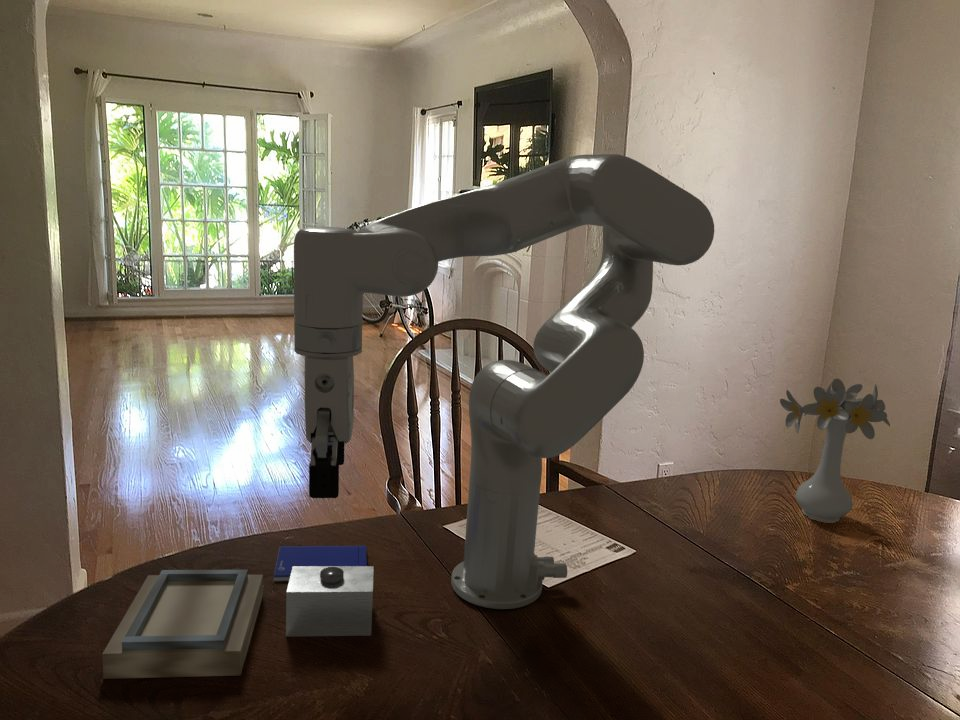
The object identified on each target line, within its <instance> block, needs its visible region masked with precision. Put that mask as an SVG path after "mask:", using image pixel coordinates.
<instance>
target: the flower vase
mask: <svg viewBox="0 0 960 720" xmlns="http://www.w3.org/2000/svg"><path fill="white" fill-rule="evenodd" d="M863 387H864V386H863V384H861V383H855V384H854V385H850V386H849V387H848V388H847V390H846V387H845V384H844V383H843V381H842V380H841V379H840V378H837V377H836V378H833V380H832V381H831V382H830V383H829V385H828V387H827V388H825V387H824V388H822V387H821V386H815V387H814V388H813V396H814V399H815V402H812V403H808V404H805V405H803V406H801V404H800V403H799V402H798V401H797V400H796V398H795V397H794V396H793V395H792V394H791V392H790V391H789V390H788V389H786V392H785V394H786V397H787V399H788V400H787V399H785V398H780V399H779V402H780V403H779V404H780V406H781V407H782V408H783V409H784V410H785V411H787V412H789V413H788V414H787V415H786V417H785V426H786V428H787V429H788V428H790V427H792V425H793V424H794V430H795V432H796V433H797V434H799V432H800V425H801V421H802V416H803V417H805V416H806V415H810V416H817V419H816V427H817V428H818V430H821V431H823V430H825V429H826V435H825V440H824V441H825V442H824V445H823V450H822V454H821V458H820V462H819V465H818V467H817V469H816V471H815V472H814V474H813V475H812V476H811V477H810V478H809V479H807V480H805V481H803V482H802V483H801V484H800V485H799V486H798V487H797V489H796V491H795V500H796V502H797V504H798V505H799V507H800V508H802V509H801V510H802V511H801V512H803V513H802V515H803V514H804V515H806V516H808V517H810V518H812V519H815V520H818V521H823V522H836V521H838V522H840V520H841V518H842V517H844V516H846V515H848V514H849V513H850V512H851V511H852V509H853V499H852V496H851V493H850V492H849V491H848V490H847V488H846V487H845V484H844V482H843V480H842V475H841V464H842V458H843V450H844V449H843V448H844V444H845V441H846V440H845V439H846V435H847V434H853V433H854V432H856V431H857V430H858V429H860V431H861V433H862V434H863V436H865V438H866V439H868V440H873V439H874V438H875V435H876V432H875V428H874V426H873V425H872V423H879V422H884V423H885V424H886V425H887V426H888V427H891V423H890V421H889V420H888V414H887V413H886V412H885V410H886V404H885V401H884V400H883V399H878V397H879V396H878V395H879V394H878V393H879V392H878V386H877V383H875V384H874V387H873V393H868V394H866V395H865V396H864V397H862V398H857V397H858V394H859V393H860V392H861V391H862V390H863ZM804 515H803V516H804ZM806 516H805V517H806Z"/></svg>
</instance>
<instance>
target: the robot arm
mask: <svg viewBox="0 0 960 720" xmlns="http://www.w3.org/2000/svg"><path fill="white" fill-rule="evenodd" d="M587 225H591V226H598V227H602V251H601V253H602V254H601V259H600V263H599V265H598V269H597V270H596V272H595V273H594V275H592V277H591V278H590V279H589V280H588V281H587V282H586V283H585V285H584V286H583V287H582V288H581V289H579V290H578V292H576V293H575V294H574V295H572V297H571V298H570V299H569V300H567V302H566V303H564V304H563V305H562V306H561V307H560V308H559V309H558V310H557V311H556V312H555V313H553V314H552V315H551V317H549V318H548V319H547V320H546V321H545V322H544V323H543V324H542V325H541V327H540V328H539V329H538V331H537V332H536V333H535V337H534V340H533V344H532V345H533V349H532V350H533V354H534V357H535V359H536V361H537V362H538V363H539V364H540V365H541V366H542V367H543V368H544V369H545V370H546V371H548V372H549V374H545V373H544V372H542V371H540V370H538V369H536V368H534V367H531V366H530V365H528V364H526V363H523V362H520V361H518V360H517V361H516V360H511V359H500V360H495V361H493V362H491V363H489V364H486V365H484V367H482V368H481V369H480V370H479V371H478V372H477V374H476V376H475V377H474V379H473V381H472V383H471V386H470V389H469V394H468V417H469V426H470V427H469V428H470V441H471V443H470V447H471V449H470V452H471V453H470V467H469V468H470V469H469V471H470V472H469V482H468V496H467V497H468V498H467V507H466V509H467V510H466V512H467V513H466V523H465V525H466V526H465V539H464V553H463V561H462V562H460V563H459V564H456V566H455V567H454V568H453V570H452V572H451V576H450V577H451V578H450V584H451V587H452V589H453V591H454V592H455V593H456V595H457V596H459V597H460V598H461V599H462V600H465V601H466V602H468V603H469V604H472V605H475V606H477V607H481V608H482V607H483V608H488V609H492V610H493V609H494V610H511V609H512V610H514V609H519V608H522V607H525V606H529V605H530V604H532V603H534V602H535V601H536V600H537V599H538V598H539V597H540V596H541V595H542V592H543V582H544V580H545V579H546V578H553V579H565V578H567V577H568V567H567V563H560V562H559V563H555V559H554V556H542V557H540V556H538V555H537V554H535V548H536V538H537V537H536V536H537V535H536V534H537V525H538V516H539V514H538V513H539V505H540V504H539V503H540V496H541V495H540V493H541V484H542V475H543V474H542V473H543V459H551V458H554V457H557V456H560V455H562V454H563V453H565V452H567V451H569V450H570V449H571V448H572V447H574V446H575V445H576V444H578V443H579V442H580V441H581V439H583V438H584V437H585V436H586V435H587V434H588V433H589V432H590V431H591V430H592V429H593V428H594V427H596V425H597V424H598V423H600V421H601V420H602V419H603V418H604V417H605V416H607V414H608V413H609V412H610V411H612V409H613V408H614V407H616V406H617V405H618V403H620V402H621V401H622V399H623V398H624V397H625V396H627V394H628V393H629V392H630V391H631V390H632V388H633V387H634V386H635V384H636V383H637V380H638V378H639V376H640V375H641V373H642V368H643V365H644V360H645V351H644V349H645V348H644V346H643V345H644V344H643V342H642V340H641V337H640V336H639V335H638V334H639V333H637V331H635V329H633V327H634V326H635V325H636V324H637V323H638V322H639V320H640V319H641V318H642V317H643V315H644V314H645V313H646V311H647V309H648V307H649V305H650V303H651V299H652V294H653V281H654V279H653V278H654V263H658V264H664V265H665V264H666V265H669V266H686V265H690V264H693V263H695V262H697V261H699V260H700V259H701V258H702V257H704V256H705V254H706V253H707V252H708V251H709V249H710V248H711V246H712V243H713V240H714V236H715V223H714V218H713V216H712V213H711V211H710V209H709V207H707V205H706V204H705V203H704V202H703V201H702V200H700V198H698V197H696V196H695V195H694V194H692V193H691V192H689V191H687V190H685V189H684V188H682V187H681V186H679V185H677V184H676V183H674V182H672V181H671V180H669V179H668V178H666V177H665V176H663V175H662V174H660V173H658V172H657V171H655V170H653V169H652V168H650V167H648V166H646V165H645V164H643V163H641V162H640V161H637V160H636V159H633V158H631V157H629V156H626V155H621V154H618V153H614V154H613V153H612V154H609V153H608V154H578V155H573V156H568V157H565V158H562V159H560V160H557V161H553V162H551V163H549V164H546V165H543V166H541V167H538V168H535V169H531V170H530V171H526V172H524V173H521V174H520V175H516V176H514V177H509V178H507V179H504V180H501V181H499V182H496V183H493V184H490V185H487V186H484V187H480V188H475V189H473V190H467V191H466V192H462V193H460V194H457V195H454V196H451V197H450V196H449V197H447V198H443V199H440V200H434V201H431V202H428V203H425V204H422V205H418V206H414V207H412V208H409V209H406V210H403V211H400V212H397V213H395V214H392V215H390V216H389V215H388V216H386V217H384V218H381V219H378V220H376V221H373V222H370V223H368V224H367V225H364V226H363V227H362V228H360V229H359V230H358V231H357V230H355V229H352V228H348V227H341V226H339V227H337V226H336V227H334V226H309V227H303V228H301V229H300V230H298V231H297V232H296V234H295V236H294V238H293V240H294V241H293V320H294V321H293V326H294V332H293V334H294V335H293V337H294V339H293V342H294V343H293V345H294V346H293V347H294V348H293V350H294V351H293V352H295V354H297V355H300V356H303V357H304V420H305V422H304V423H305V438H306V440H307V441H308V442H309V443H310V444H311V449H310V462H309V464H308V495H309V498H311V499H337V498H338V497H339V494H340V491H339V489H340V484H339V483H340V466H343V465H344V463H345V444H348V443H349V442H350V441H351V440H352V435H353V428H354V422H355V421H354V420H355V419H354V418H355V415H354V413H355V411H354V407H355V405H354V403H355V402H354V399H355V393H354V391H355V390H354V389H355V388H354V387H355V381H354V380H355V369H354V367H355V365H354V357H355V356H358V355H360V354H362V352H363V312H364V311H363V308H364V307H363V306H364V303H363V302H364V300H363V299H364V293H366V294H375V295H380V296H381V295H383V296H388V297H397V298H399V297H400V298H402V297H404V298H406V297H411V296H415V295H417V294H421V292H423V291H425V290H426V289H428V288H429V287H430V286H431V285H432V283H433V282H434V281H435V278H436V276H437V274H438V270H439V262H443V261H446V260H452V259H456V258H465V257H466V258H467V257H495V256H501V255H508V254H512V253H516V252H519V251H521V250H523V249H525V248H528V247H530V246H533V245H536V244H538V243H540V242H542V241H545V240H548V239H550V238H551V239H552V238H553V237H555V236H556V237H557V236H558V235H560V234H563V233H566V232H567V231H570V230H573V229H576V228H577V227H583V226H587Z"/></svg>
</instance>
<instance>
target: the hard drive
mask: <svg viewBox="0 0 960 720" xmlns="http://www.w3.org/2000/svg"><path fill="white" fill-rule="evenodd" d="M276 559H277V560H276V563H275V568H274V573H273V582H286V581H287V582H289V579H290V575H291V571H292V567H293V566H368V564H367V563H368V561H367V560H368V559H367V545H316V546H313V545H304V546H297V545H296V546H295V545H294V546H288V545H287V546H279V548H278V554H277V558H276Z"/></svg>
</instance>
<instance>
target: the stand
mask: <svg viewBox="0 0 960 720" xmlns="http://www.w3.org/2000/svg"><path fill="white" fill-rule="evenodd" d="M263 598H264V574H249V569H161V571H160V573H159V574H158V575H157V574H152V575H151V574H150V575H147V576H146V578H145V580H144V582H143V583H142V585H141V587H140V589H138V591H137V594H136V595H135V597H134V599H133V601H132V602H131V604H130V606H129V607H128V609H127V611H126V613H125V615H124V616H123V617H122V619H121V620H120V622H119V624H118V626H117V628H116V629H115V631H114V633H113V634H112V636H111V638H110V640H109V642H108V644H107V645H106V646H105V648H104V649H103V651H102V654H101V656H102V672H103V673H102V674H103V680H105V679H106V680H107V679H109V680H111V679H112V680H113V679H114V680H115V679H145V678H147V679H149V678H151V679H152V678H154V679H155V678H185V677H186V678H191V677H224V676H225V677H226V676H228V677H229V676H232V677H233V676H242V671H243V669H244V664H245V661H246V658H247V654H248V651H249V646H250V644H251V640H252V636H253V633H254V629H255V625H256V622H257V618H258V614H259V612H260V609H261V603H262V600H263Z"/></svg>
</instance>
